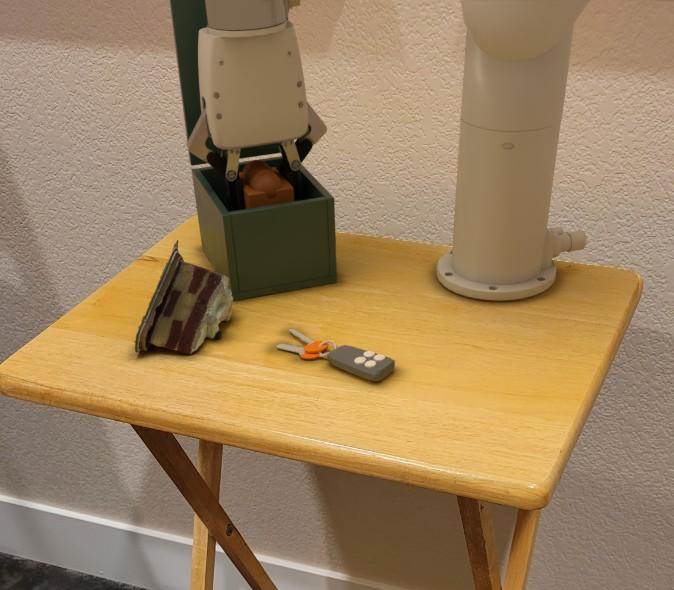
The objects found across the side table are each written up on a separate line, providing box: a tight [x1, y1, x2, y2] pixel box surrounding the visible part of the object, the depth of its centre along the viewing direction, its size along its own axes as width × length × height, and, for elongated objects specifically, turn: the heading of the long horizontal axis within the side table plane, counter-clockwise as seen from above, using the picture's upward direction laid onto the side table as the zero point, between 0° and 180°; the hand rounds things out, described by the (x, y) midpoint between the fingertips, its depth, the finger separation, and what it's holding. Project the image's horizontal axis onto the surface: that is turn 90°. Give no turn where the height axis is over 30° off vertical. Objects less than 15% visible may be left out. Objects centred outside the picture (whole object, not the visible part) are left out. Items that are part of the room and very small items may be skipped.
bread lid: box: [169, 0, 289, 167], centre depth 93 cm, size 16×12×6 cm
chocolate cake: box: [134, 239, 234, 355], centre depth 87 cm, size 10×7×12 cm
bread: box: [239, 159, 294, 209], centre depth 93 cm, size 5×7×5 cm, turn 19°
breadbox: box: [191, 155, 338, 302], centre depth 95 cm, size 15×12×9 cm
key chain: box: [276, 328, 396, 382], centre depth 82 cm, size 13×4×2 cm, turn 52°
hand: (264, 209), depth 94 cm, fingers closed on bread, 4 cm apart
